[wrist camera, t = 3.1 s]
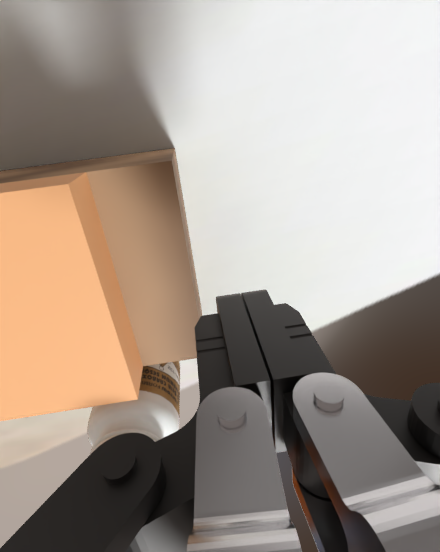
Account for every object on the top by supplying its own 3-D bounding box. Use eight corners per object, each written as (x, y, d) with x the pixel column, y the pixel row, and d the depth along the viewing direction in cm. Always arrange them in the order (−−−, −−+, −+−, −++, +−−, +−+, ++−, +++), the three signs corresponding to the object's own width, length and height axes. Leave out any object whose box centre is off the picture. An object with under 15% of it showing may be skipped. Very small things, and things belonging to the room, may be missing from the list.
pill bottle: (193, 348, 21) (197, 469, 14) (159, 394, 22) (148, 524, 15) (127, 320, 19) (96, 439, 12) (96, 371, 21) (53, 502, 14)
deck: (174, 148, 15) (171, 160, 12) (201, 310, 19) (205, 356, 16) (-93, 183, 15) (-181, 207, 11) (-6, 341, 19) (-50, 396, 15)
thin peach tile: (85, 172, 11) (68, 183, 10) (143, 366, 16) (137, 399, 14) (-90, 195, 11) (-141, 211, 9) (15, 386, 15) (-7, 422, 14)
